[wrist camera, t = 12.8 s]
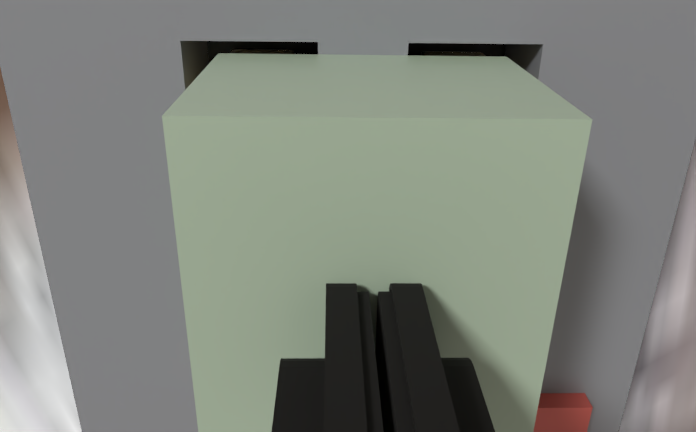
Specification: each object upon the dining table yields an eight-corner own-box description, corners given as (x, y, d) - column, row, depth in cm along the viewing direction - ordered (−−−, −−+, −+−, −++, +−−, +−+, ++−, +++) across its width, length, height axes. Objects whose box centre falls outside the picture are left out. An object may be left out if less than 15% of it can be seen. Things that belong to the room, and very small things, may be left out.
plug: (232, 33, 16) (155, 115, 9) (482, 36, 16) (598, 119, 9) (249, 304, 20) (202, 516, 13) (454, 304, 20) (522, 512, 13)
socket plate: (23, -134, 15) (-67, -152, 11) (688, -122, 15) (787, -136, 12) (119, 395, 21) (81, 479, 18) (576, 392, 22) (619, 474, 19)
